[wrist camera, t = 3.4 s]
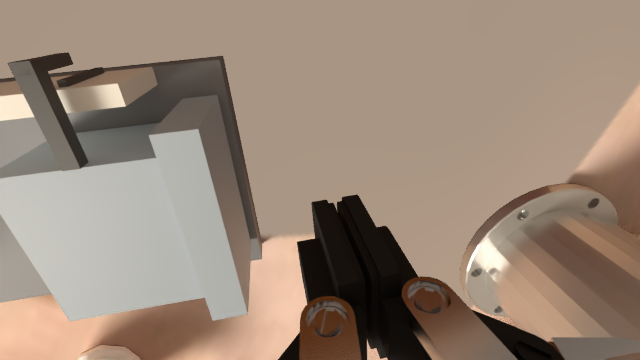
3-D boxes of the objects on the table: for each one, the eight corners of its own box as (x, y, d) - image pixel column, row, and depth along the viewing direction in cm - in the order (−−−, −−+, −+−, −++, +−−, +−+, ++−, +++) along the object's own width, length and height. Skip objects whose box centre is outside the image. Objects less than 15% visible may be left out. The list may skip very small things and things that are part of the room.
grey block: (204, 36, 14) (176, 47, 10) (251, 244, 20) (247, 314, 15) (17, 54, 13) (-109, 75, 9) (119, 265, 19) (73, 346, 14)
